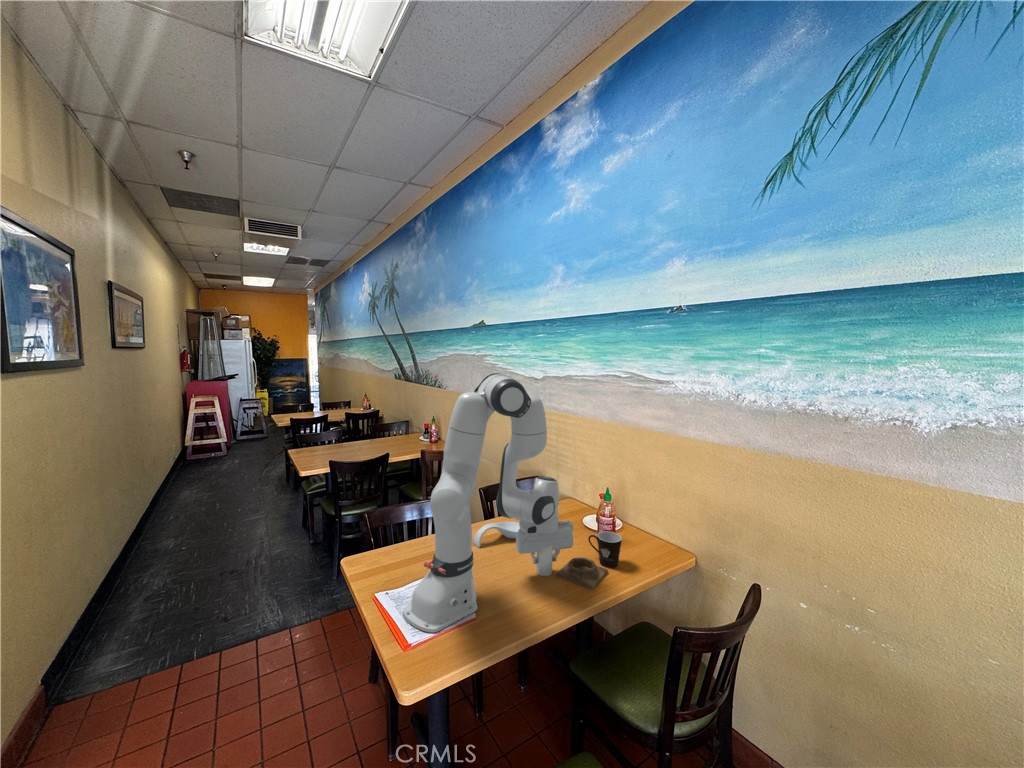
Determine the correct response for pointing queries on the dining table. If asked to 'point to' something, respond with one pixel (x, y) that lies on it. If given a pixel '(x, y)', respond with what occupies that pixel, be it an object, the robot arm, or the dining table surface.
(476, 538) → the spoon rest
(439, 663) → the dining table surface
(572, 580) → the holder
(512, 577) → the dining table surface
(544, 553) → the roll
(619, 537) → the coffee mug
